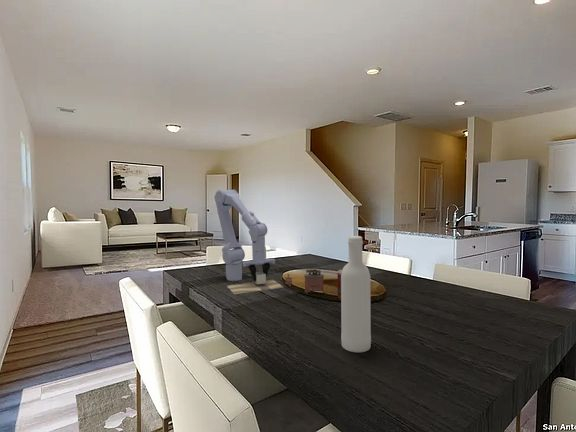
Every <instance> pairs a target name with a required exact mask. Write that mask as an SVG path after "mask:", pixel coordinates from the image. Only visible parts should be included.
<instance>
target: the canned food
mask: <svg viewBox="0 0 576 432" xmlns="http://www.w3.org/2000/svg"><path fill="white" fill-rule="evenodd" d="M342 270H343V268H342V269H339V270H337V273H336V274H337V275H336V276H337V279H336V280H337V298H338V300H339V301H341V274H342Z"/></svg>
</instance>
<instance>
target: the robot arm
mask: <svg viewBox="0 0 576 432" xmlns="http://www.w3.org/2000/svg"><path fill="white" fill-rule="evenodd" d="M213 199H214V201H215V205H216V211H217V215H218V219H219V224H220V227H221V232H222V235H223V238H224V239H223V240H224V243H225V244H224V246H223V247H222V248H221V251H222V253H221V254H222V260H223V262H224V264H225V278H226V280H227V281H229V282H231V281H232V282H237V281H240V280H242V279H243V272H242V271H243V268H245V267H247V268H248V269H249V272H250V274H251V277H252V280H253V281H252V282H256V272H257V267H256V266H260V265H261V267H262V272H263V273H264V274H266V278H267V277H268V272H269V270H270V269H271V264H275V263H276V259H275V258H266V235H267V234H268V227H267V225H266V224H265V223H264V222H262V221H260V220H259V219H258V218H257V217H256V216H255V213H254V212H253V211H249V210H248V209H247V207H246V206H245V204H244V203H243V201H242V200H241V198H240V193H238V191H237V190H236V189H218V190H217V191H216V192H215V194H214V198H213ZM232 207H233V208H234V209H235V210H236V211H237V212H238V213H239V214H240V215H241V220H242V222H243V223H244V225H246V227H247V229H248V234H249V236H250V240H251V250H252V251H251V252H252V255H251V256H252V259H251V260H245V261H243V260H244V259H245V257H246V253H245V250H244V248H243V246H242V244H241V243H240V242H238V241H237V237H236V234H235V229H234V226H233V222H232V218H231V212H230V209H231V208H232ZM242 267H243V268H242Z"/></svg>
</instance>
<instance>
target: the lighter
mask: <svg viewBox="0 0 576 432" xmlns="http://www.w3.org/2000/svg"><path fill="white" fill-rule="evenodd" d="M305 273H307V274H304V293H305V294H308V292H310V291H323V290H324V278H325V277H324V274H322V270H321V269H317V268H313V269H312V268H311V269H310V268H306V269H305ZM324 291H325V290H324Z"/></svg>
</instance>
